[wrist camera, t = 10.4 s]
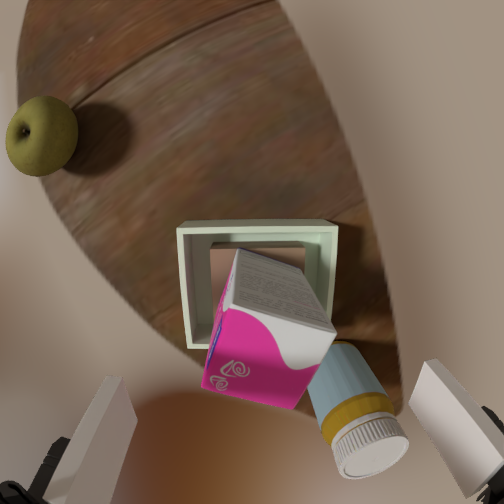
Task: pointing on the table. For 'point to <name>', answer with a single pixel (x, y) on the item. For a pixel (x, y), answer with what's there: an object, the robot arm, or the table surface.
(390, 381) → the table surface
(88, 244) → the table surface
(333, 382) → the bottle
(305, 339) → the supplement box
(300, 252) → the walnut block
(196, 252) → the box
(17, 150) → the apple
